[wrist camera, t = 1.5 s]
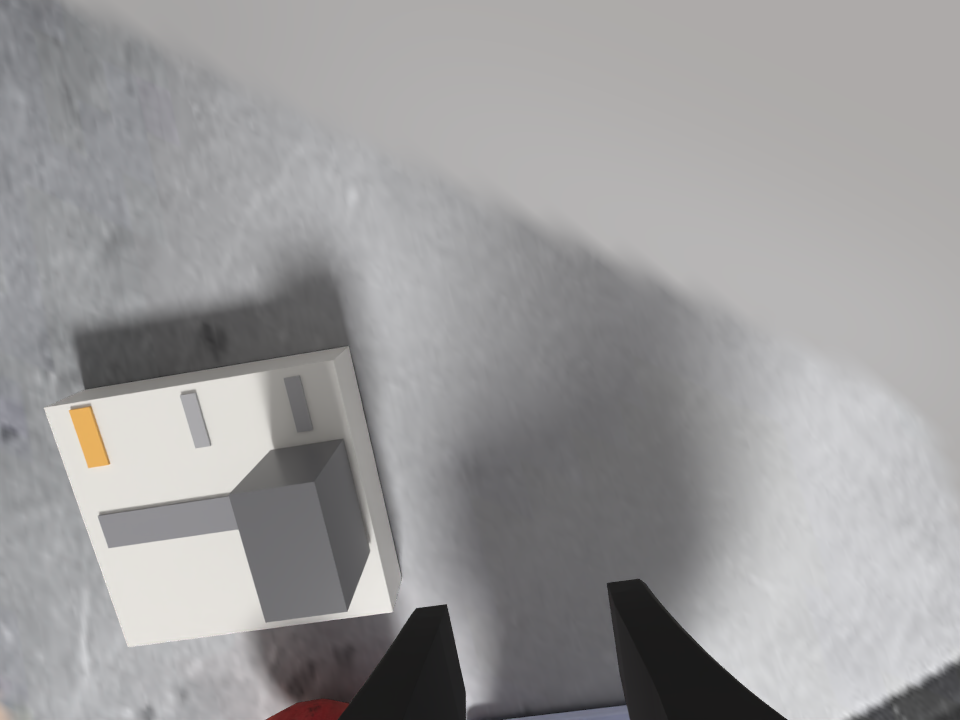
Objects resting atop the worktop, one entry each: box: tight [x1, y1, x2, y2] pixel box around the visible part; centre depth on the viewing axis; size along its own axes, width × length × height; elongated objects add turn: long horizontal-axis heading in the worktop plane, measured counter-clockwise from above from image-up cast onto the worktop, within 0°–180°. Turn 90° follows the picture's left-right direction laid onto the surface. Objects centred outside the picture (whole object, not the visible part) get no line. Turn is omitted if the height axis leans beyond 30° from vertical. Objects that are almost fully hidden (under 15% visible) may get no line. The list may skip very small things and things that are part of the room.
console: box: [44, 346, 402, 647], centre depth 22 cm, size 9×10×2 cm
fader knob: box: [229, 439, 370, 623], centre depth 19 cm, size 4×2×3 cm, turn 10°
